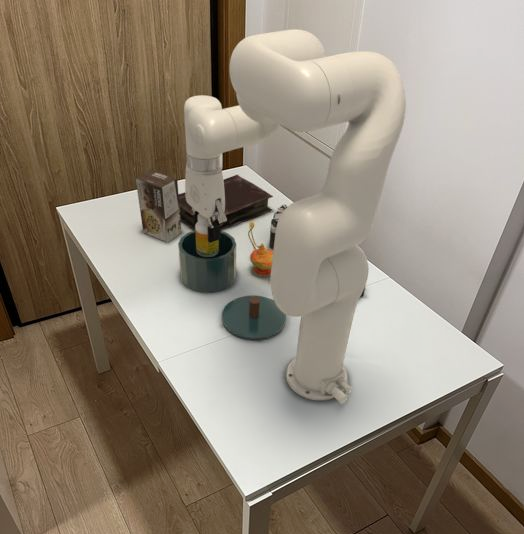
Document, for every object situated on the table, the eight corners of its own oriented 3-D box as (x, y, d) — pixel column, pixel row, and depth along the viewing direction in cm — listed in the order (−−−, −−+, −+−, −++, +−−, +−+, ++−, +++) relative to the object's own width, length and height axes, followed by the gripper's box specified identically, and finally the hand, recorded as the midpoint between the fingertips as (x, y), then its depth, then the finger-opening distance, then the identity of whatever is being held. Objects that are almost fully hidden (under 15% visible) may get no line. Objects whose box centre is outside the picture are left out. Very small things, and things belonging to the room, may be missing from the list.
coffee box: (182, 232, 148) (178, 178, 136) (167, 243, 144) (162, 187, 132) (157, 222, 151) (151, 168, 140) (141, 232, 147) (134, 177, 136)
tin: (246, 281, 133) (246, 248, 126) (199, 299, 127) (197, 266, 120) (216, 255, 141) (216, 223, 134) (171, 271, 135) (168, 239, 128)
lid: (298, 325, 122) (301, 306, 118) (246, 350, 115) (246, 330, 111) (260, 292, 130) (261, 272, 126) (209, 313, 123) (209, 293, 120)
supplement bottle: (210, 260, 126) (208, 224, 119) (191, 252, 128) (189, 216, 121) (223, 250, 129) (222, 214, 122) (205, 242, 131) (203, 207, 124)
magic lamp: (275, 296, 129) (278, 258, 121) (236, 259, 139) (237, 222, 132) (298, 288, 132) (302, 250, 124) (258, 252, 142) (260, 215, 135)
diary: (167, 211, 156) (166, 195, 152) (235, 187, 168) (235, 172, 164) (204, 239, 146) (203, 223, 142) (273, 212, 158) (274, 196, 154)
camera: (295, 254, 142) (299, 224, 137) (266, 250, 143) (269, 219, 137) (302, 233, 152) (306, 203, 147) (275, 228, 153) (278, 199, 147)
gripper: (169, 149, 116) (175, 222, 128) (211, 180, 106) (213, 256, 119) (198, 141, 119) (201, 214, 132) (242, 171, 110) (241, 246, 122)
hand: (207, 233), depth 125 cm, fingers closed on supplement bottle, 5 cm apart
